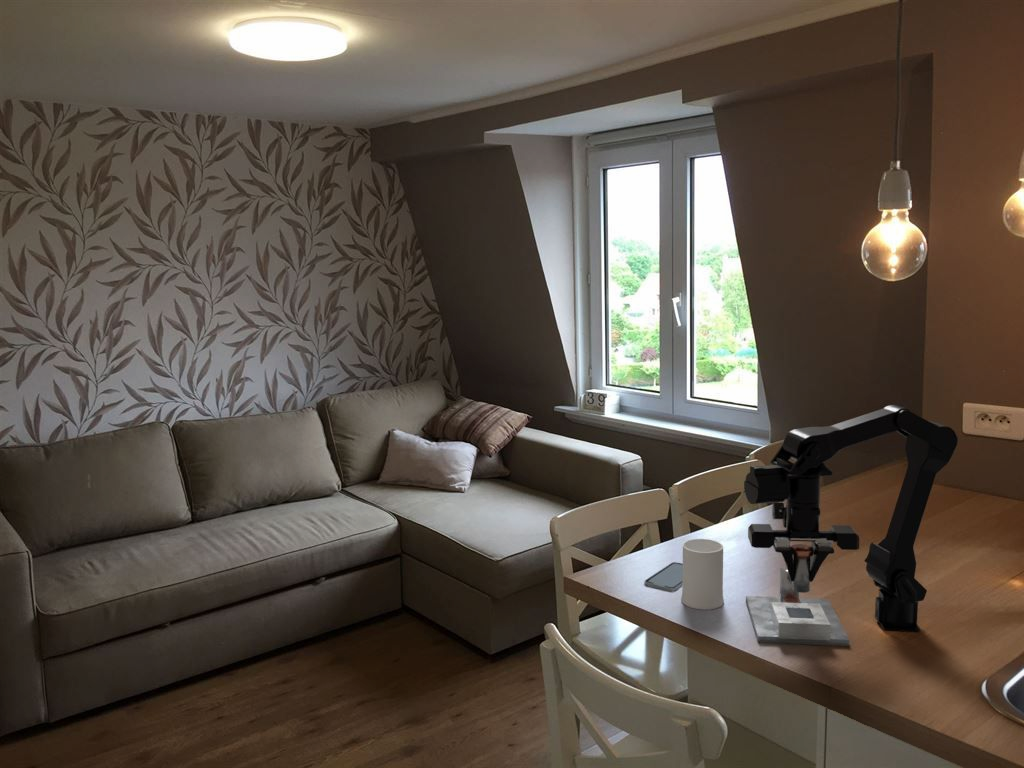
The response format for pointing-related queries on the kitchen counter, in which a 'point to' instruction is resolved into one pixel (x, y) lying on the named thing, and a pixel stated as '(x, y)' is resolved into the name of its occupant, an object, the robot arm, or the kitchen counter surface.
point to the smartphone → (667, 577)
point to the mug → (702, 574)
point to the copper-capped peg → (802, 567)
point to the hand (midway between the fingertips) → (801, 580)
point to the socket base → (795, 618)
